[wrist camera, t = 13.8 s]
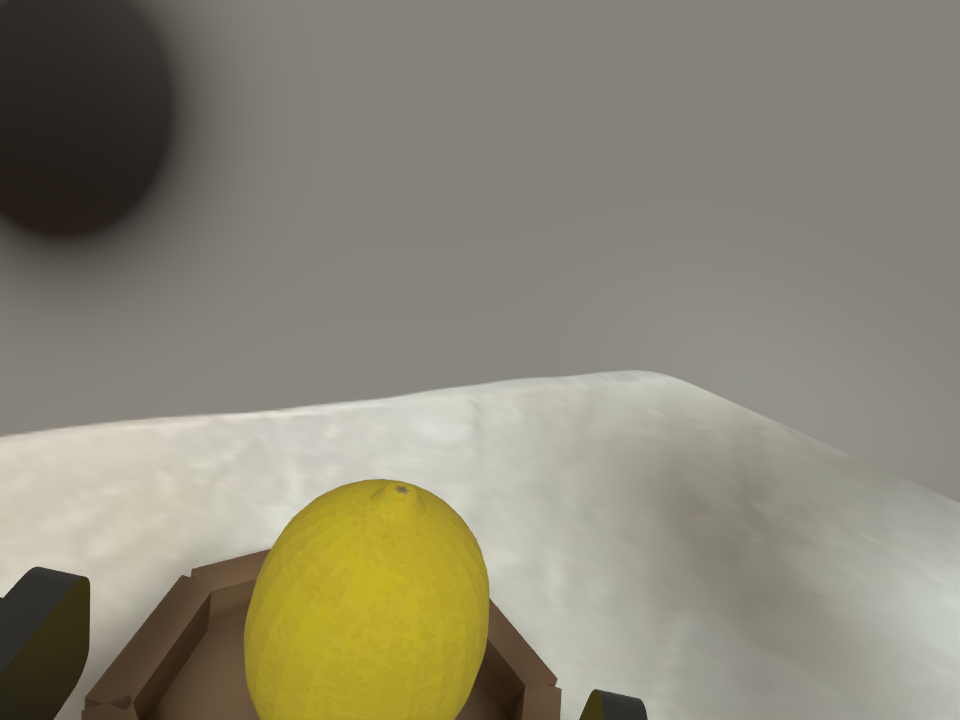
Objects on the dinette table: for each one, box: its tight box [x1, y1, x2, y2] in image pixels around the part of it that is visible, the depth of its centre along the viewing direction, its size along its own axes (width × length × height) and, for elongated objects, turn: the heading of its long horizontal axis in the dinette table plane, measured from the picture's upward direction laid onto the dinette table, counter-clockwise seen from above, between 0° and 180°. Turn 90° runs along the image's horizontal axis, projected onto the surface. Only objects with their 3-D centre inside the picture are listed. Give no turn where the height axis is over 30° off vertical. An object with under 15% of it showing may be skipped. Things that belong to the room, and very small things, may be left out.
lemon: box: [244, 479, 489, 720], centre depth 17 cm, size 6×6×8 cm
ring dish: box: [82, 549, 561, 720], centre depth 18 cm, size 12×12×2 cm
